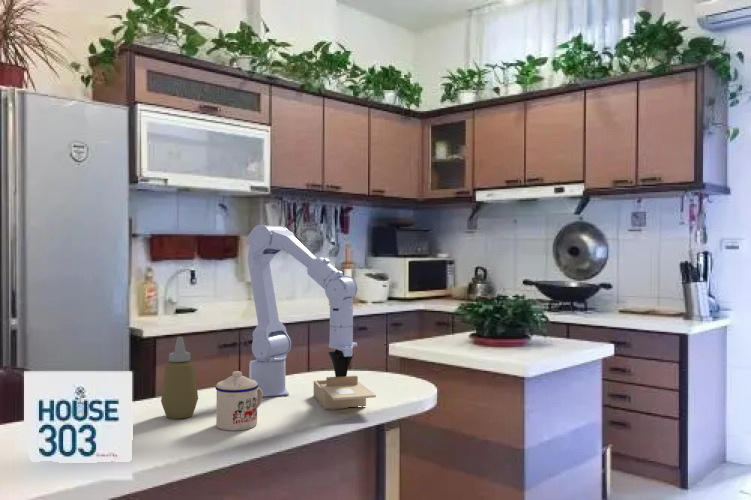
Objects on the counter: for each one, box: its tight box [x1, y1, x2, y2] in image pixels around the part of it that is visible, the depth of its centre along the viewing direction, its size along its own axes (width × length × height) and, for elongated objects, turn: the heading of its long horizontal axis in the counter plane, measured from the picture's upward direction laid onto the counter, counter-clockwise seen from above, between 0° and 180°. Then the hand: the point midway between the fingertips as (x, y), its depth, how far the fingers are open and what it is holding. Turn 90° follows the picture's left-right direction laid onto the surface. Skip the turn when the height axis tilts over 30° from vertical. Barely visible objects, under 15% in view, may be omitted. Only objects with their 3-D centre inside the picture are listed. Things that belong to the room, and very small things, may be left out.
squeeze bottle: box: [160, 336, 199, 420], centre depth 144 cm, size 8×8×18 cm
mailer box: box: [313, 379, 367, 411], centre depth 158 cm, size 14×10×4 cm
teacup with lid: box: [214, 370, 263, 432], centre depth 138 cm, size 12×9×12 cm
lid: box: [320, 375, 377, 400], centre depth 150 cm, size 14×10×2 cm
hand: (340, 380), depth 156 cm, fingers closed
